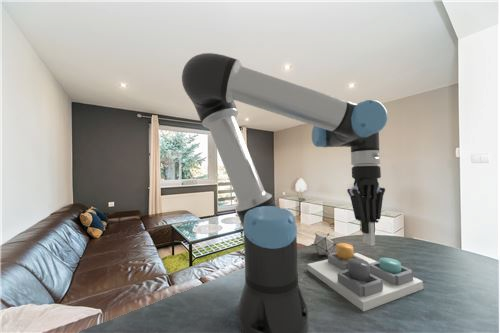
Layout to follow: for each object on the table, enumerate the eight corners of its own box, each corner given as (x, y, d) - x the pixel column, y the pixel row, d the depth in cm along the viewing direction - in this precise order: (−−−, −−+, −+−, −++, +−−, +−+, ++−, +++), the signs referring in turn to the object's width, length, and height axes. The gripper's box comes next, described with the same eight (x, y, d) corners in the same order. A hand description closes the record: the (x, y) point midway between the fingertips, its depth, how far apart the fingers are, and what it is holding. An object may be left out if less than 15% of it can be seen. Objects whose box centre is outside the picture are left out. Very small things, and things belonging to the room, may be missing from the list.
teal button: (394, 280, 49) (393, 267, 50) (375, 271, 54) (374, 259, 54) (406, 276, 51) (405, 263, 51) (387, 268, 56) (386, 256, 56)
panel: (363, 311, 42) (362, 291, 42) (307, 270, 61) (307, 256, 61) (423, 288, 50) (422, 272, 50) (357, 258, 68) (356, 246, 68)
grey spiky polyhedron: (326, 263, 73) (336, 239, 76) (333, 264, 65) (343, 239, 68) (305, 249, 76) (315, 227, 79) (309, 250, 68) (320, 225, 71)
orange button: (345, 261, 57) (345, 249, 57) (333, 255, 62) (332, 244, 62) (357, 258, 59) (356, 247, 59) (344, 252, 63) (344, 242, 63)
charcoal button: (360, 283, 45) (359, 268, 46) (343, 273, 50) (343, 260, 50) (375, 278, 47) (374, 264, 47) (357, 269, 52) (356, 256, 52)
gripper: (360, 164, 51) (363, 251, 50) (393, 165, 56) (397, 245, 54) (339, 166, 58) (342, 242, 57) (369, 166, 63) (373, 237, 61)
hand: (369, 243), depth 56 cm, fingers closed
